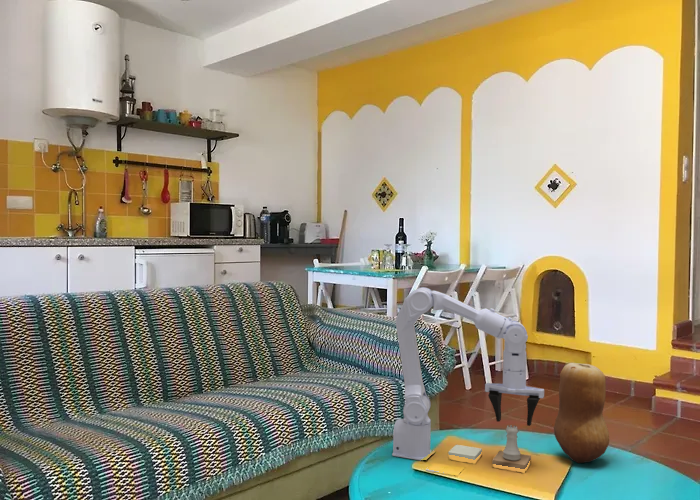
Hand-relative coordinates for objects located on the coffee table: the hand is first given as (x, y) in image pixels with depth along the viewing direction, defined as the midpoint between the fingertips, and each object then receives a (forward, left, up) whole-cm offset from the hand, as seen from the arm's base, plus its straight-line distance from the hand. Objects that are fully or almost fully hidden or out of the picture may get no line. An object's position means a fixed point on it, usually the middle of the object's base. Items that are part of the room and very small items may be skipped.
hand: (513, 422), depth 156 cm
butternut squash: (+15, +11, -11) cm, 21 cm away
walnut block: (0, -2, -10) cm, 11 cm away
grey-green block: (-12, -2, -10) cm, 16 cm away
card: (-14, -13, -10) cm, 22 cm away
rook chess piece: (0, -2, -9) cm, 9 cm away
